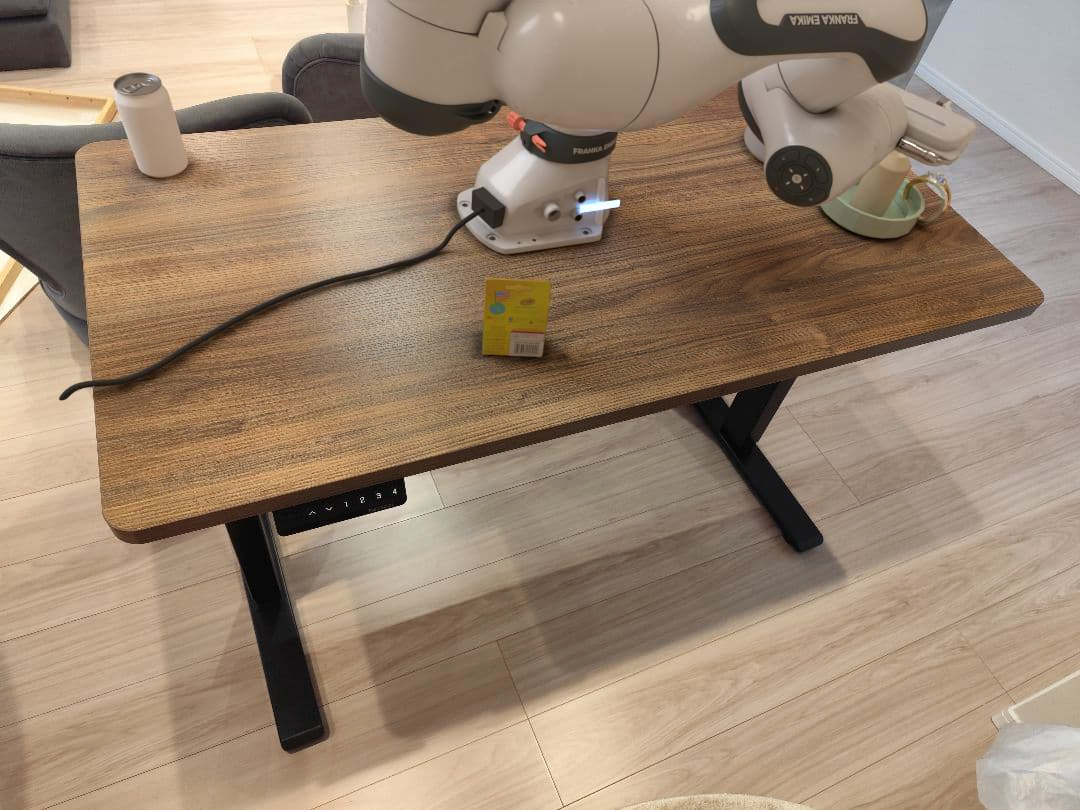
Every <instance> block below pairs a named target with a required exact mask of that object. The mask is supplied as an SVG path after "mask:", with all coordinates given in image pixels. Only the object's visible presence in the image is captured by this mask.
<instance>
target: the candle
mask: <svg viewBox="0 0 1080 810" xmlns="http://www.w3.org/2000/svg"><path fill="white" fill-rule="evenodd" d="M911 169H912V163H911V160H910V157H908V156H906V155H904V154H902V153H900V152H898V151H896V150H893V151H892V152H891V153H890V154H889V155H888V156H887V157H885V158H884V159H883V160H882V161H881V162H880V163H879V164H877V165H876V166H875V167H874V168H872V169H871V170H869V171H868V172H867V173H866V174H865V176H864V177H863V178H862V179H861V181H860V183H859V185H858V187H857V189H856V191H855V193H854V194H853V196H852V198H851V200H850V205H851V206H853V207H855V208H856V209H858V210H860V211H862V212H865V213H868V214H871V215H874V216H877V217H883V215H884V214H885V212H886V211H887V209H888V207H889V206H890V204H891V202H892V200H893V199H894V197H895V195H896V193H897V192H898V190H899V188H900V186H901V185H902V183H903V181H904V179H905V178H906V179H907V176H908V174H909V172H910V170H911Z"/></svg>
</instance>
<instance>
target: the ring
mask: <svg viewBox="0 0 1080 810" xmlns="http://www.w3.org/2000/svg"><path fill="white" fill-rule="evenodd" d="M909 181H910V182H909V183H908V184H907V185H906V187H905V189H904V192H903V200H904V199H906V200H907V199H910V192H911V190H912V188H913V187H914V185H915V186H916V185H917V184H925V185H927V184H928V183H929V184H930V185H932V186H934V188H936V189H937V190H938V191H939V192H940V194H941V203H940V207H939V209H938V211H937V212H936V213H935V214H934V215H933V216H931V217H923V216H922V215H921V216H920V218H919V219H918V221H917V222H916V223H920V224H924V223H932V222H934V221H936V220H938V219H940V218H942V216H943V215H945V213H946V212H947V211H948V209H949V207H950V206H951V201H952V192H951V189H950V187H949V185H948V179H947V177H945V174H944V173H941V172H940V171H937V172H935V173H934V172H933V171H931V170H927V173H923V174H921V175H918V176H917V177H915V178H913V179H912V180H909Z"/></svg>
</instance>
